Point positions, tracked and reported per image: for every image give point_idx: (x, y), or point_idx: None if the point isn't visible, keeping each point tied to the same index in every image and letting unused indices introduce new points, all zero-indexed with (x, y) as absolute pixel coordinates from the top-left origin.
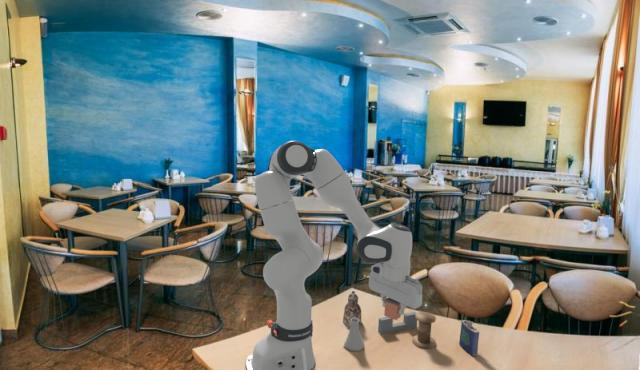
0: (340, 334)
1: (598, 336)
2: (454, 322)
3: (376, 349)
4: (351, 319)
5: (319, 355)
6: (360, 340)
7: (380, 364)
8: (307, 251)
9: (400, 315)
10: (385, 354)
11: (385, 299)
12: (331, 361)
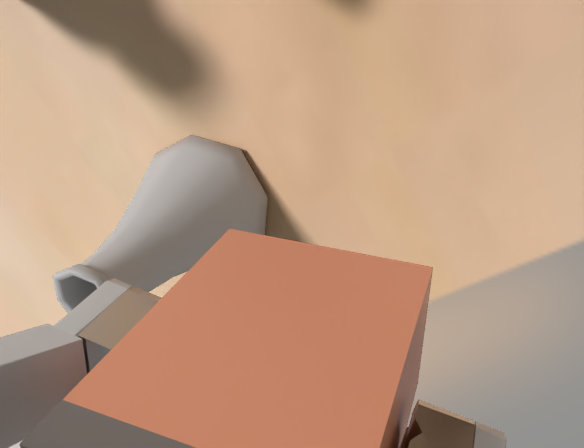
0: (82, 120)
1: None
2: None
3: (335, 155)
4: (67, 306)
5: None
6: (223, 229)
7: (439, 297)
8: None
9: (427, 287)
10: (417, 180)
11: (37, 385)
12: None
